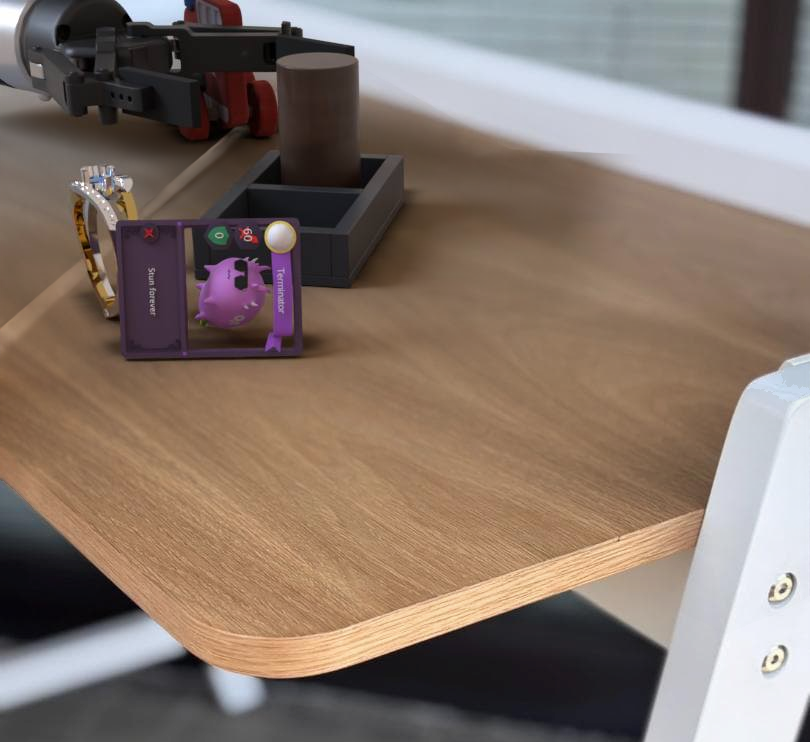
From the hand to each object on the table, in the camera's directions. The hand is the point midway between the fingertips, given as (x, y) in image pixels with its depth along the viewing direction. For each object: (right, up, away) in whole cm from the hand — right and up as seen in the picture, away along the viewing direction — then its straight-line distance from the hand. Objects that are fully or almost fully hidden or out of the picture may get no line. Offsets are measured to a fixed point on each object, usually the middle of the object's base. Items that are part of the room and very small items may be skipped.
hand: (278, 85), depth 93 cm
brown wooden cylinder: (+3, -7, +2) cm, 8 cm away
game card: (-2, -18, -17) cm, 25 cm away
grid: (+2, -10, -2) cm, 10 cm away
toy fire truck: (-6, +3, +22) cm, 23 cm away
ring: (-8, -16, -13) cm, 22 cm away
